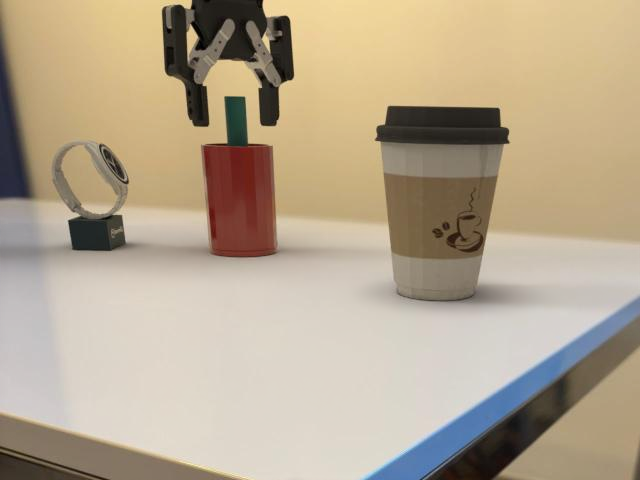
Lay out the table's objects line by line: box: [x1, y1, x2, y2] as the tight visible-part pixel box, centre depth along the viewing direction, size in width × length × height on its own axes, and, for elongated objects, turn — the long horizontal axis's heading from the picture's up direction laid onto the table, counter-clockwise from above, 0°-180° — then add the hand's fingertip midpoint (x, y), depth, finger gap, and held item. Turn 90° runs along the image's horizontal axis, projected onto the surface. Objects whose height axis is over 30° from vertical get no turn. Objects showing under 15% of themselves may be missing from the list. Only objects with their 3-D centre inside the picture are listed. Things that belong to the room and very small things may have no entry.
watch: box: [51, 140, 130, 251], centre depth 88 cm, size 6×8×11 cm
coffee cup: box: [374, 105, 511, 301], centre depth 68 cm, size 11×11×15 cm
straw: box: [223, 95, 249, 146], centre depth 85 cm, size 2×2×15 cm
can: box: [200, 142, 278, 258], centre depth 86 cm, size 8×8×11 cm
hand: (235, 126), depth 83 cm, fingers open, 8 cm apart
